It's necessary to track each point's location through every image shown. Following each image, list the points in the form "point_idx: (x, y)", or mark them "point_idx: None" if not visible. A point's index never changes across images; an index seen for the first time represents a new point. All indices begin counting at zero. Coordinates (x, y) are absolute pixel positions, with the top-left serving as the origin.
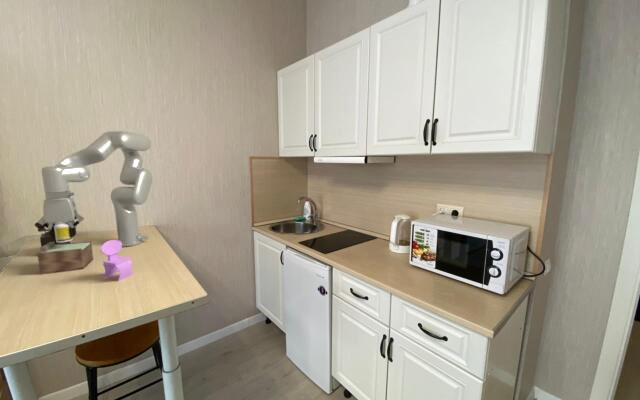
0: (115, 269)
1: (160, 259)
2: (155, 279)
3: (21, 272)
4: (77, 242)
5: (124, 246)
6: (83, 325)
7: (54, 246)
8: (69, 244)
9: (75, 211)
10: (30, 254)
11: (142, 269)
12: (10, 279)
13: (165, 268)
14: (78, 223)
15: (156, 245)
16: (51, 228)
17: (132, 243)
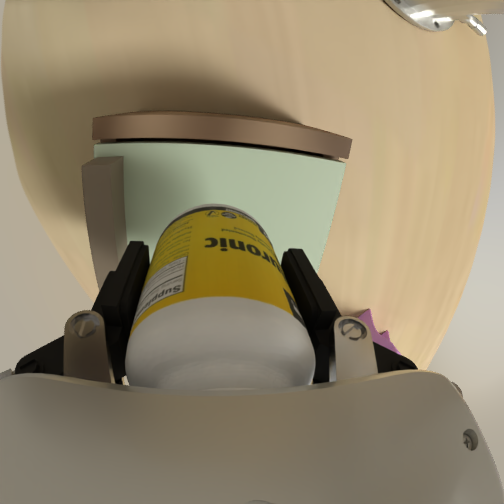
0: (368, 326)
1: (458, 254)
2: (404, 355)
3: (56, 185)
4: (266, 128)
5: (405, 19)
6: None
7: (124, 167)
8: (216, 152)
9: (474, 488)
10: None
11: (411, 308)
12: (65, 247)
13: (438, 315)
14: (393, 362)
15: (483, 97)
16: (123, 379)
17: (433, 21)
